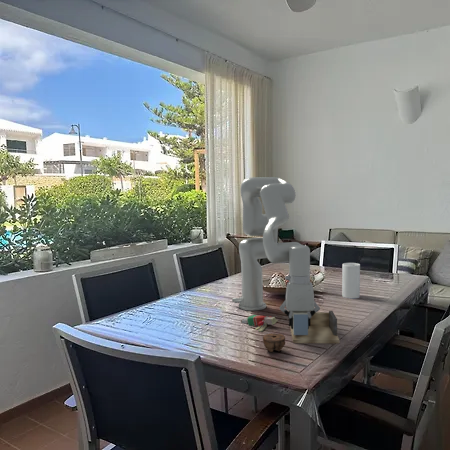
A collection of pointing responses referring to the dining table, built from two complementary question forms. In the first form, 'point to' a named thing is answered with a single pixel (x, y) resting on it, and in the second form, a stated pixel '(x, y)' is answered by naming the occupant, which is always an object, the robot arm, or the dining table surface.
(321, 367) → the dining table surface
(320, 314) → the tan shallow square box
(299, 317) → the book
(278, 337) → the artifact
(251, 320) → the toy
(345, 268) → the cup
